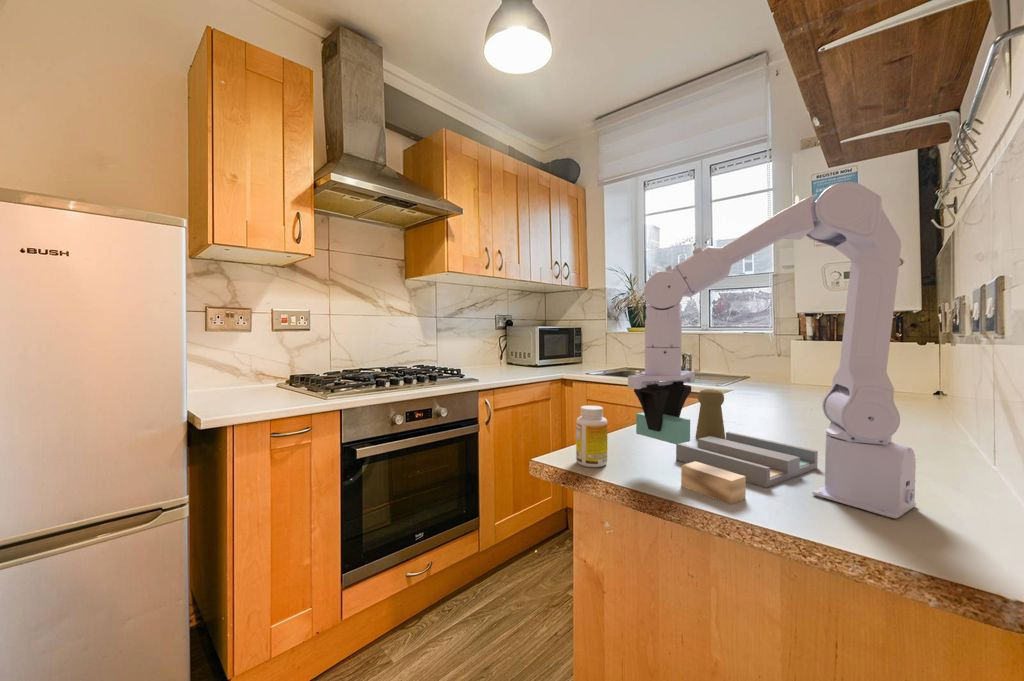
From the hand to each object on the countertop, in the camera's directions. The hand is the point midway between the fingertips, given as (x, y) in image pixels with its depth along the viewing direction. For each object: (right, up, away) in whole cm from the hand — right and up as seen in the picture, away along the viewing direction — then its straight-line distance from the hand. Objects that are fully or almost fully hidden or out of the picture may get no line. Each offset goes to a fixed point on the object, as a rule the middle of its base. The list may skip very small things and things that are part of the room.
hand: (662, 428), depth 70 cm
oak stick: (+5, -8, -7) cm, 12 cm away
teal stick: (0, -2, 0) cm, 2 cm away
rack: (+17, -8, +5) cm, 19 cm away
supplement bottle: (-11, -8, +6) cm, 15 cm away
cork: (+18, -7, +22) cm, 29 cm away
